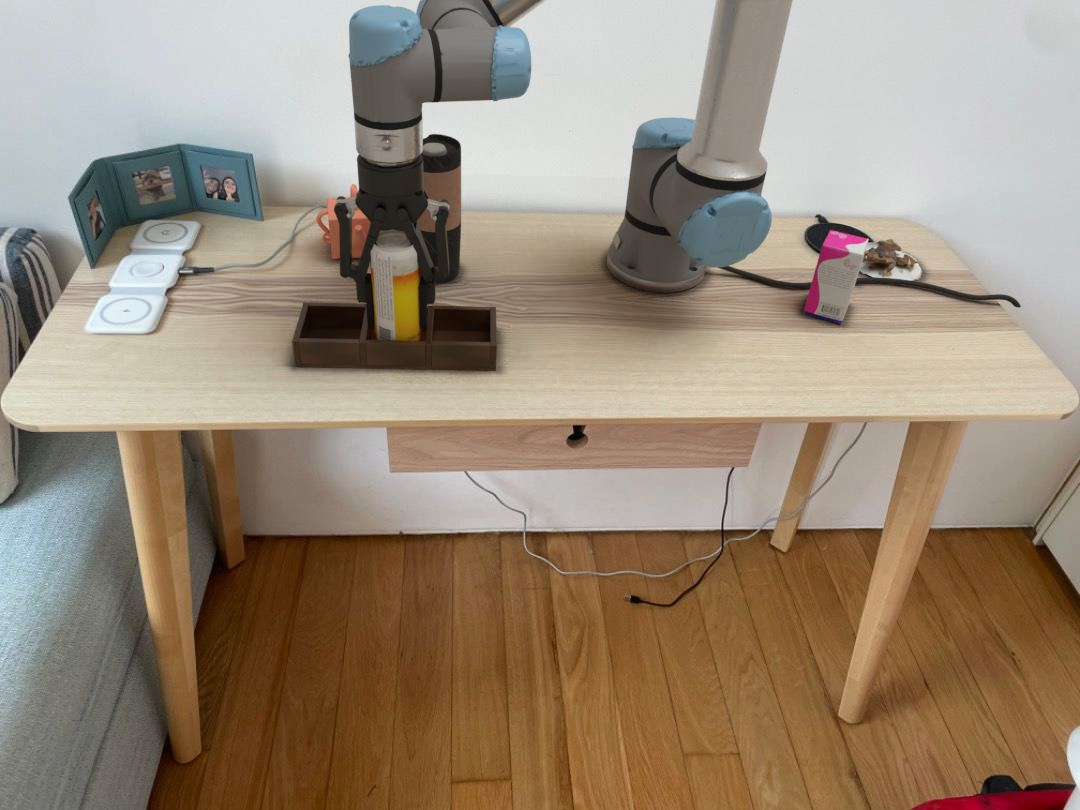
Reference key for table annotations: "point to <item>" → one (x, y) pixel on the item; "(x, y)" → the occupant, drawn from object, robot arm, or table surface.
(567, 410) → the table surface
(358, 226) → the teapot
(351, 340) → the rack
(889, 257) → the plate of food
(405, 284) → the beer can
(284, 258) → the table surface
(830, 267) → the supplement box
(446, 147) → the travel mug
